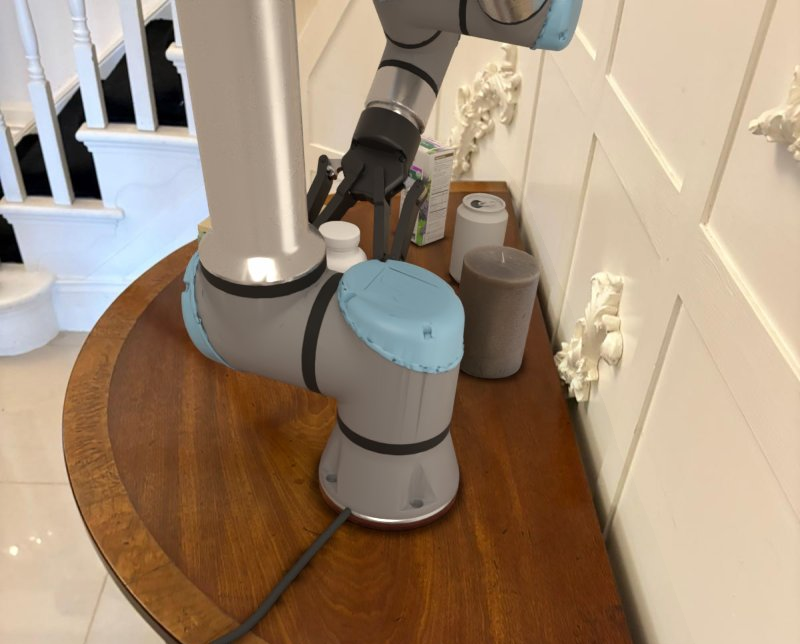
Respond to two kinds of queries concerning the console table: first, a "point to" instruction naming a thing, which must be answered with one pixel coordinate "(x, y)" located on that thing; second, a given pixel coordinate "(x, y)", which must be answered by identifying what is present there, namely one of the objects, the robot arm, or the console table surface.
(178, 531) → the console table surface
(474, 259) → the pillar candle
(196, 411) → the console table surface
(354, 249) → the supplement bottle
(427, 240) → the syrup box
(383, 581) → the console table surface
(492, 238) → the can
